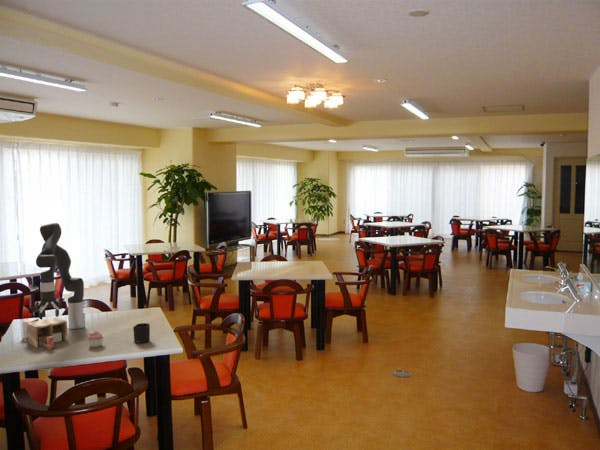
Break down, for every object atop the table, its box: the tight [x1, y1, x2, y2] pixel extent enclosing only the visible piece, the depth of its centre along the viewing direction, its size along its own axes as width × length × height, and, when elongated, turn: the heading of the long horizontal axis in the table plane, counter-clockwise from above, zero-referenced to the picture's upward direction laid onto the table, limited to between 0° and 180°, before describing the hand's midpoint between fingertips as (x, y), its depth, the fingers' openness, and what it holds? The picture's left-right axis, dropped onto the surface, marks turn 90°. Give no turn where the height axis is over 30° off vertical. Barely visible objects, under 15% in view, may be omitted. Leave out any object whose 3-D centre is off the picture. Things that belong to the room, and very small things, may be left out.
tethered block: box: [38, 334, 55, 351], centre depth 307 cm, size 5×18×7 cm, turn 45°
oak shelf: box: [27, 316, 68, 348], centre depth 316 cm, size 18×14×12 cm
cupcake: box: [86, 329, 105, 349], centre depth 307 cm, size 9×9×10 cm
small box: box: [21, 318, 40, 339], centre depth 328 cm, size 8×6×10 cm
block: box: [52, 331, 63, 343], centre depth 319 cm, size 5×5×5 cm
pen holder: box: [132, 322, 151, 345], centre depth 315 cm, size 9×9×10 cm
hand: (49, 317), depth 301 cm, fingers open, 8 cm apart
